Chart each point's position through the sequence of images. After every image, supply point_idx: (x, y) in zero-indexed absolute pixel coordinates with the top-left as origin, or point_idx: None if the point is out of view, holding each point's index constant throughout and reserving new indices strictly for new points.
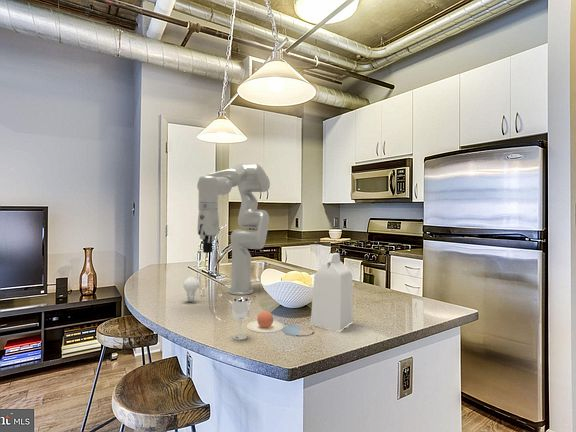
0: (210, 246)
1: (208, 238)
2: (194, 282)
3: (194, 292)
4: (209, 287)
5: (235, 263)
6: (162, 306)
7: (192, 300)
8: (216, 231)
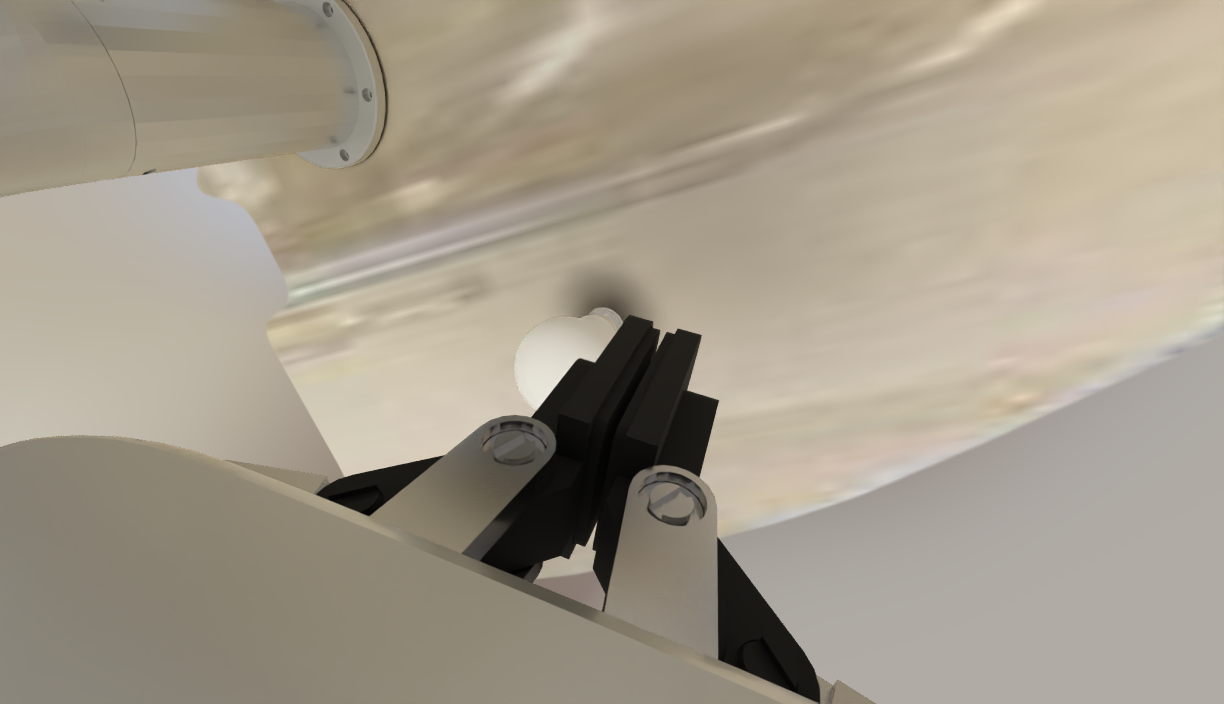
0: (675, 394)
1: (716, 609)
2: (584, 354)
3: (597, 324)
4: (320, 292)
5: (151, 124)
6: (713, 434)
7: (614, 314)
8: (156, 591)
